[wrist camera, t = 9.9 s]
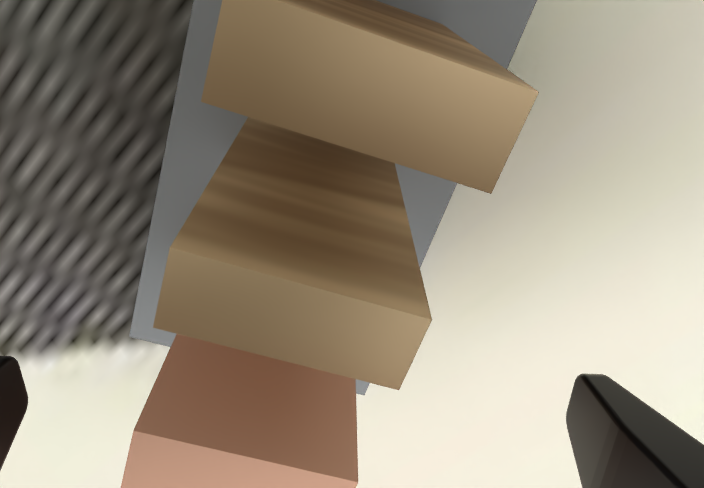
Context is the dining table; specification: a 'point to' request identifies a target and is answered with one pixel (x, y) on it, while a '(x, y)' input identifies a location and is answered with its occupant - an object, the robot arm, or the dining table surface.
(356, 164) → the domino
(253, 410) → the terracotta domino
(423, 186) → the mat
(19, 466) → the dining table surface
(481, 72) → the domino
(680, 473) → the robot arm
